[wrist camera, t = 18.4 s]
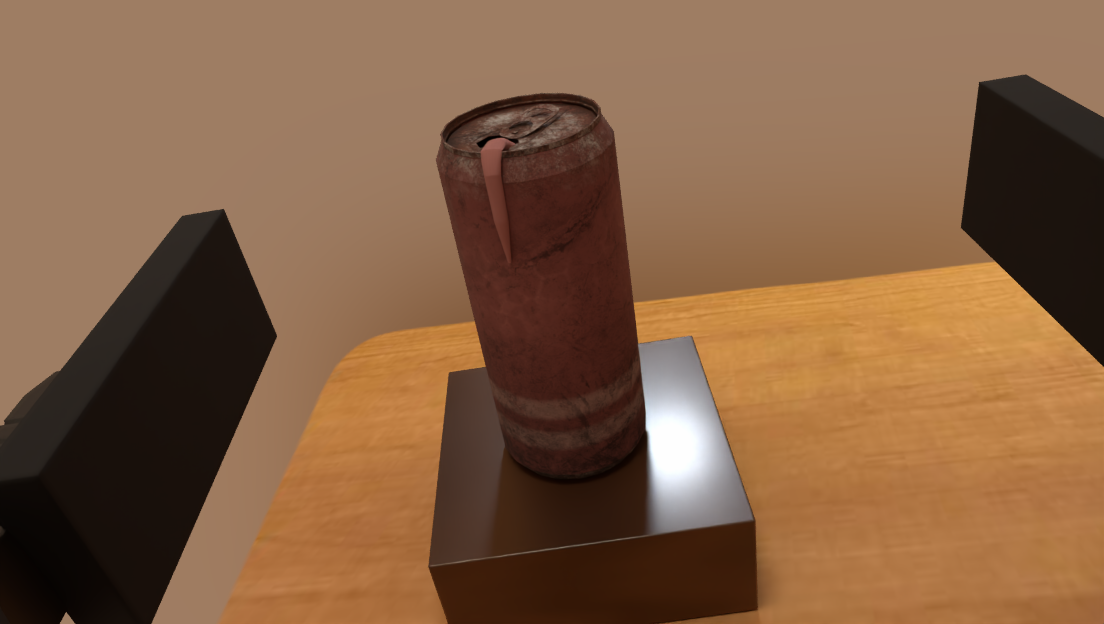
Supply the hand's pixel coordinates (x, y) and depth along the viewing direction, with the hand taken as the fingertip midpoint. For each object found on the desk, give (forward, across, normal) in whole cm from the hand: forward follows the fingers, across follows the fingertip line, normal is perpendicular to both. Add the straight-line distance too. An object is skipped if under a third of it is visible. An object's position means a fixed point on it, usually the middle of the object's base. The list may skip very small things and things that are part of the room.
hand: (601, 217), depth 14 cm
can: (+13, -2, -17) cm, 21 cm away
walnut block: (+13, -2, -22) cm, 25 cm away
